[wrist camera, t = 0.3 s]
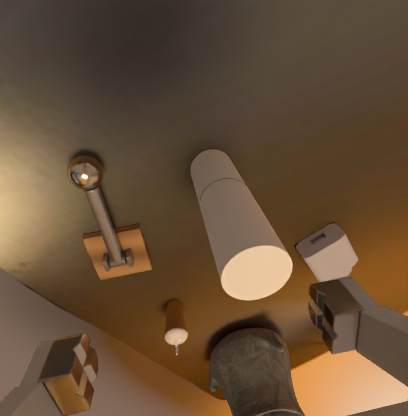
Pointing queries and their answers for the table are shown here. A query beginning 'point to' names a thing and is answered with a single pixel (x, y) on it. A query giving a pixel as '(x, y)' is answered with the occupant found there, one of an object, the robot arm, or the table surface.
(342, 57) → the table surface
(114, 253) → the ball topped rod
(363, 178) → the table surface
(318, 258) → the charger
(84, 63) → the table surface
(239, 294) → the cylindrical container
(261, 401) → the vessel
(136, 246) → the holder base
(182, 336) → the milkshake
